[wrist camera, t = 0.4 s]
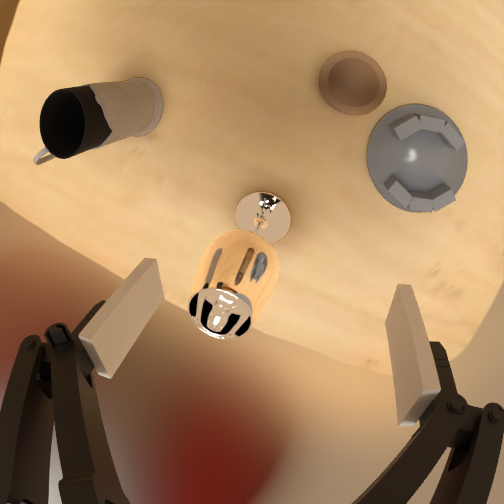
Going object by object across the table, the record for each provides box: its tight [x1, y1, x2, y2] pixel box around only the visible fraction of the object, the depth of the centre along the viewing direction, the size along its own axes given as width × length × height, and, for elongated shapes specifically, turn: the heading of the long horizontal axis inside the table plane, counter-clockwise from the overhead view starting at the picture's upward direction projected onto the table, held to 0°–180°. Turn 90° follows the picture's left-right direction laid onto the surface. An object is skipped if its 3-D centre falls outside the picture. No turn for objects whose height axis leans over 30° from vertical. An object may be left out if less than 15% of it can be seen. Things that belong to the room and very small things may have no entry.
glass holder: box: [34, 78, 163, 165], centre depth 31 cm, size 9×14×15 cm, turn 117°
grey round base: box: [367, 104, 468, 212], centre depth 31 cm, size 14×14×4 cm
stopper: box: [319, 51, 387, 115], centre depth 26 cm, size 6×6×10 cm
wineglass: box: [188, 192, 291, 339], centre depth 33 cm, size 8×8×20 cm
